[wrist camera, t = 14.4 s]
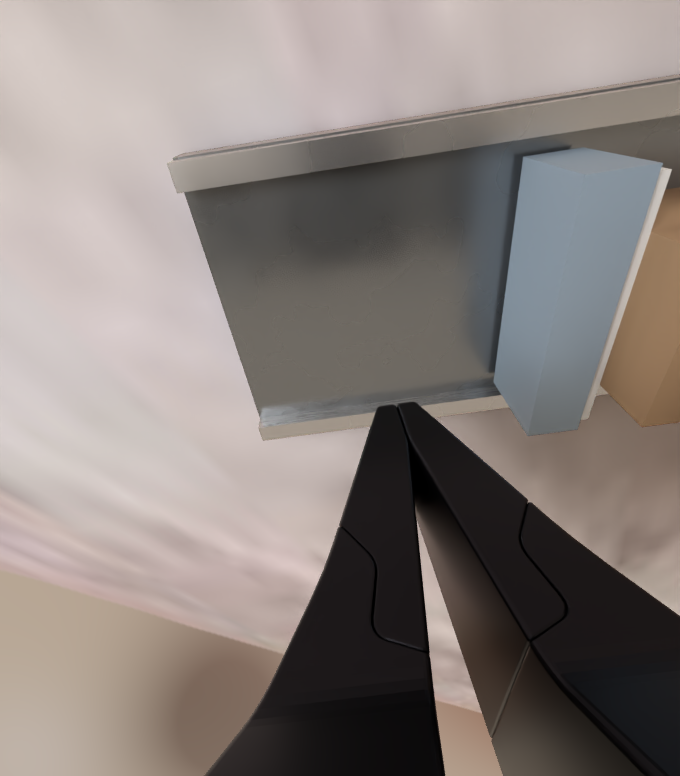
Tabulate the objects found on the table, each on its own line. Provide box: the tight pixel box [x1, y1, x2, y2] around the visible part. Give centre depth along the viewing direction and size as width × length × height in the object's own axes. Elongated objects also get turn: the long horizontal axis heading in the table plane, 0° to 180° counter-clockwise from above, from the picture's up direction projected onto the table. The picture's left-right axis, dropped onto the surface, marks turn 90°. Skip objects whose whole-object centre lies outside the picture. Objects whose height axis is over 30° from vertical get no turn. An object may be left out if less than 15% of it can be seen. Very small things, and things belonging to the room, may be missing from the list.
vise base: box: [167, 74, 680, 441], centre depth 12 cm, size 20×10×4 cm, turn 98°
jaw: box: [494, 147, 672, 436], centre depth 12 cm, size 2×8×3 cm, turn 8°
